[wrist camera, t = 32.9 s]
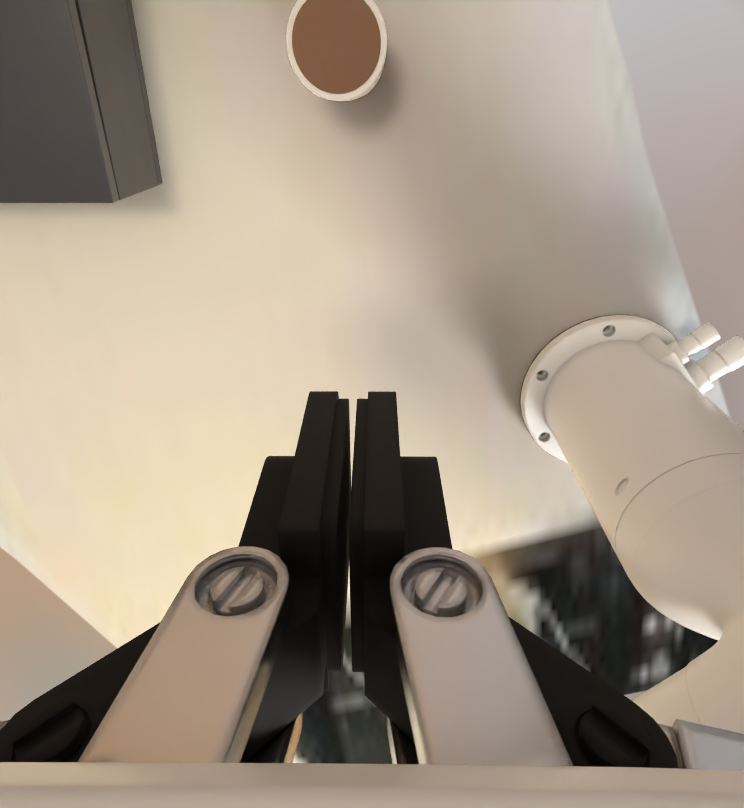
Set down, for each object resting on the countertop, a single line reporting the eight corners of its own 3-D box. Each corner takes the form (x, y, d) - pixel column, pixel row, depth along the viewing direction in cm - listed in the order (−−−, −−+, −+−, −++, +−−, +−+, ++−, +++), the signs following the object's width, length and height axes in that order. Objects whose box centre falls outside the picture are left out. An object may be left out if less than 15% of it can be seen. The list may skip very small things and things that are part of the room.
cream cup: (349, -13, 31) (340, -50, 23) (400, 61, 32) (408, 50, 25) (290, 50, 32) (263, 35, 25) (342, 118, 34) (332, 123, 26)
